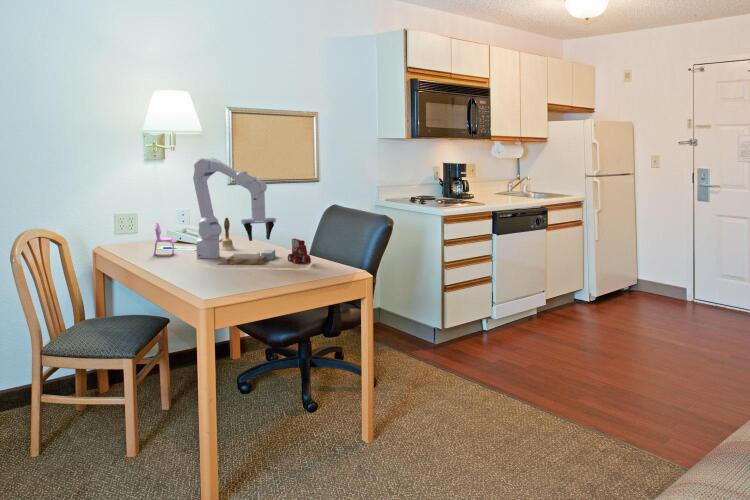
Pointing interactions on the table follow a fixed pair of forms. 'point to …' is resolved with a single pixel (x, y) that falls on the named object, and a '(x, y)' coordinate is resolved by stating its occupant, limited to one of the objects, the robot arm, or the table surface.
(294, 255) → the toy fire truck
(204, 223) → the robot arm
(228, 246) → the hand bell
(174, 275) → the table surface
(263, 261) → the jig
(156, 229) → the toy chair
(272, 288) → the table surface
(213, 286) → the table surface
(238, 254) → the tall white pillar block
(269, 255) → the pale blue rectangular block
